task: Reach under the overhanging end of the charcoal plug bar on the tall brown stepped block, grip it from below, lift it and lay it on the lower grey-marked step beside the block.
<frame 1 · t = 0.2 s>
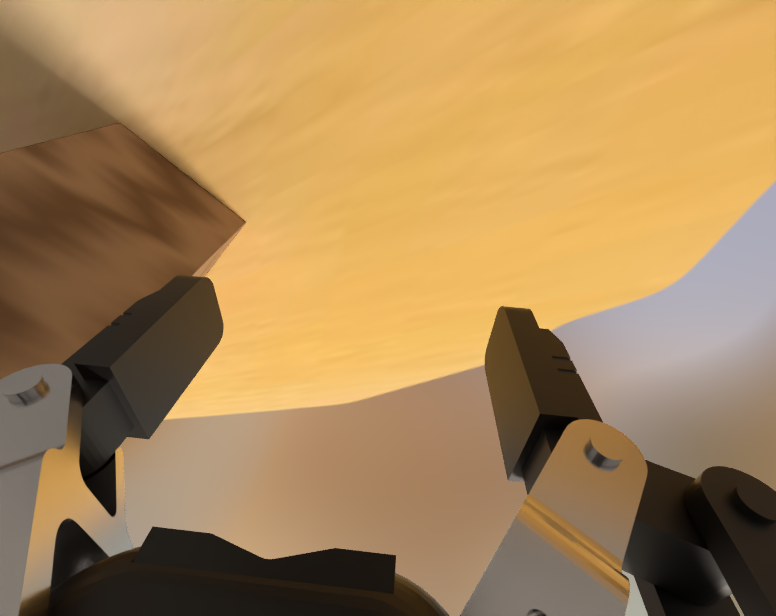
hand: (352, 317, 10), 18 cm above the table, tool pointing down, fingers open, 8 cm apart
brown stepped block: (161, 220, 28), on the table
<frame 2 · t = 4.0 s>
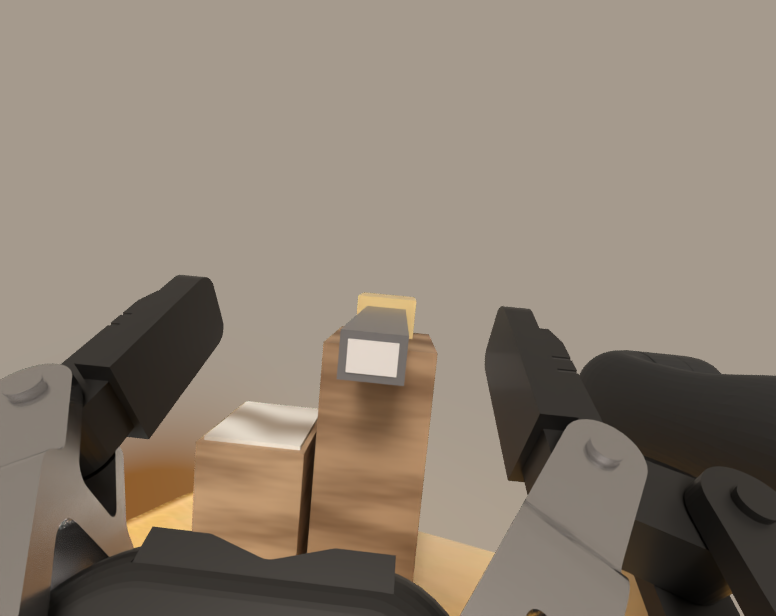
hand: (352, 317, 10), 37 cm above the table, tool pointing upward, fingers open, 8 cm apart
plug bar: (383, 337, 36), point 32 cm above the table, touching brown stepped block
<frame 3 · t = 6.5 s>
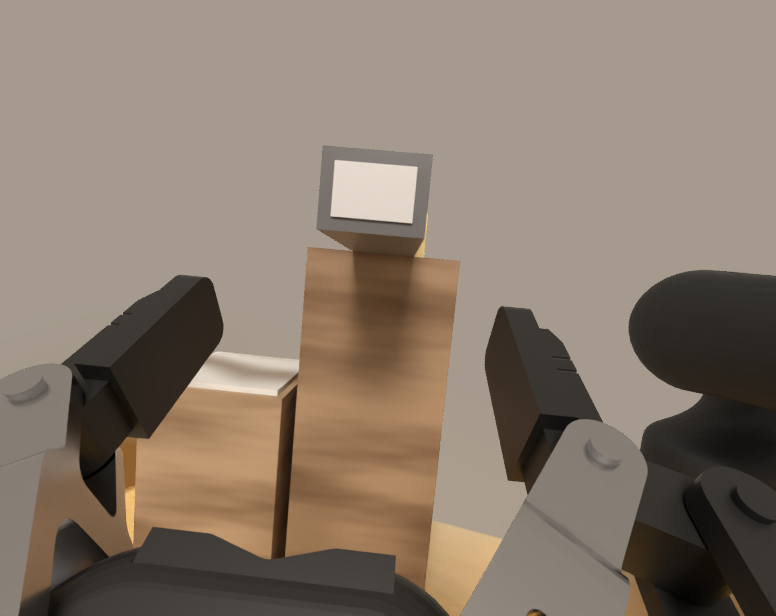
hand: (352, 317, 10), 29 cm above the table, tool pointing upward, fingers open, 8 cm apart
plug bar: (386, 258, 28), point 32 cm above the table, touching brown stepped block
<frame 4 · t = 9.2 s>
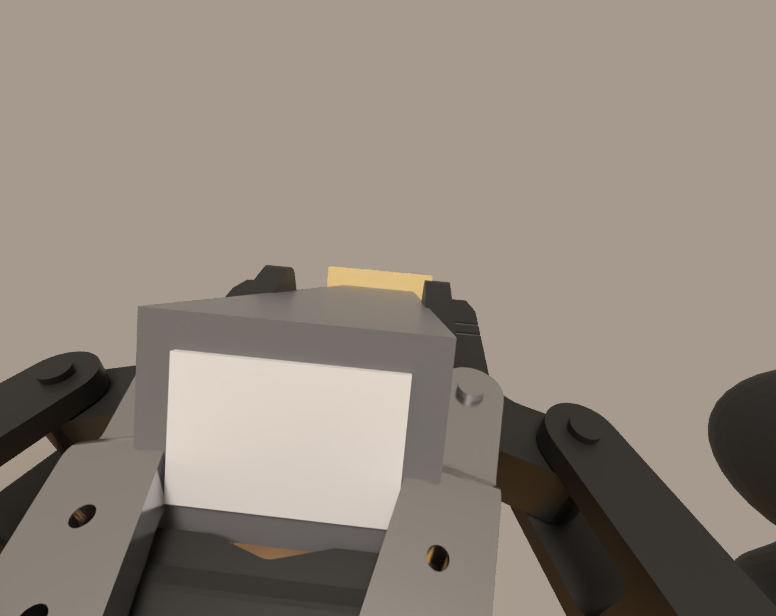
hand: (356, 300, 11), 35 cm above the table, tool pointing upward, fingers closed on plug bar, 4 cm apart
plug bar: (372, 342, 20), point 32 cm above the table, touching gripper, brown stepped block
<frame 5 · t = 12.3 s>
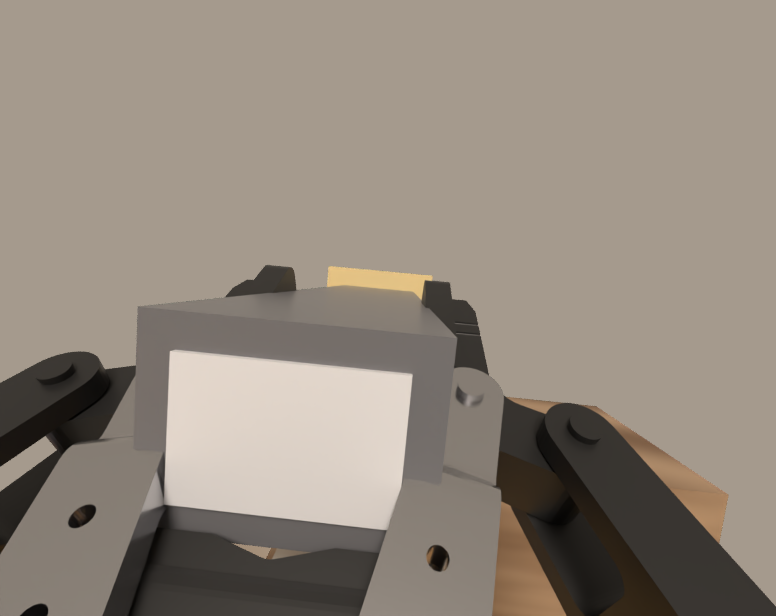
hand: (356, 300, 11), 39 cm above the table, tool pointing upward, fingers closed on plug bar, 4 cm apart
plug bar: (372, 342, 20), point 36 cm above the table, touching gripper
when the fingers open (26 cm above the table, at t = 15.9 s): plug bar drops 1 cm, resting on brown stepped block.
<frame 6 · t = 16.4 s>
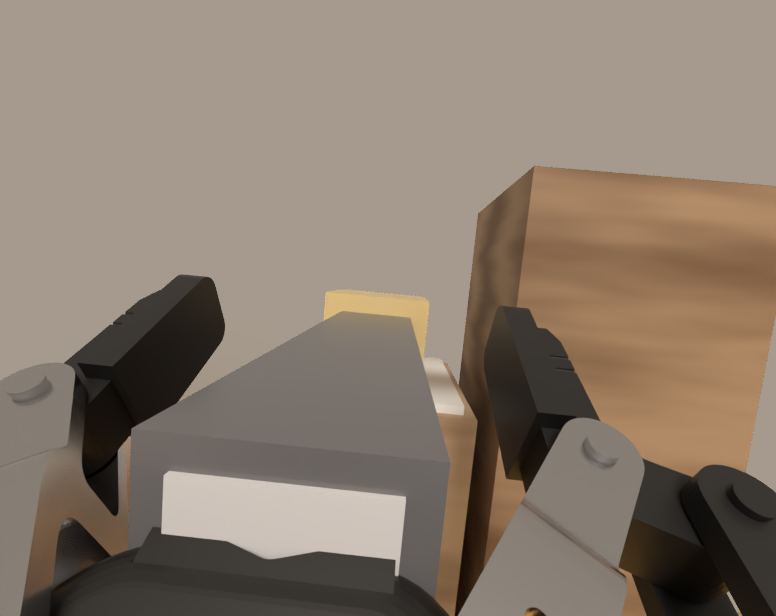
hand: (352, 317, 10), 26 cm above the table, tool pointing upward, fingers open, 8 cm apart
plug bar: (369, 369, 20), point 22 cm above the table, touching brown stepped block
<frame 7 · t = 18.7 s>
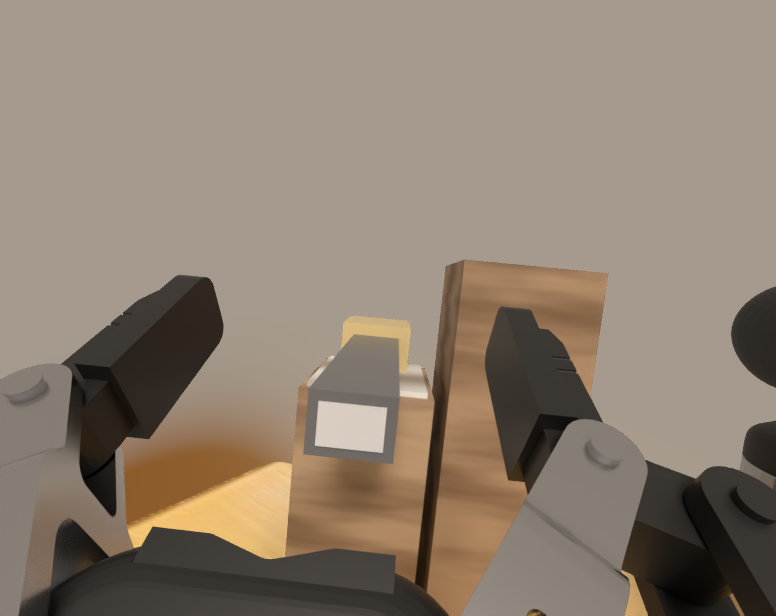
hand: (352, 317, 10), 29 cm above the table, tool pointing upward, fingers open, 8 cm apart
plug bar: (372, 372, 30), point 22 cm above the table, touching brown stepped block
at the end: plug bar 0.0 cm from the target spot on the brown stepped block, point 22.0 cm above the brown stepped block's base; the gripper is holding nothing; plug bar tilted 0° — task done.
